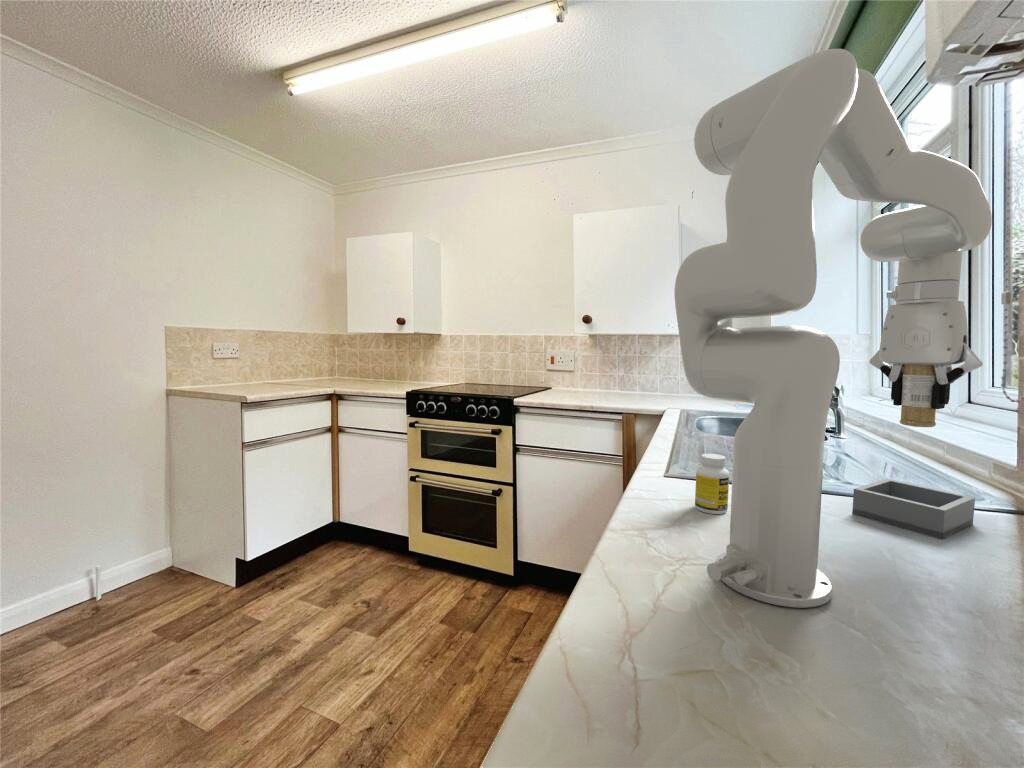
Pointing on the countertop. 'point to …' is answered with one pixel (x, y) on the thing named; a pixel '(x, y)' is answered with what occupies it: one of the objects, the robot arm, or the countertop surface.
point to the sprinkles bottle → (918, 395)
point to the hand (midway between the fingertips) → (918, 405)
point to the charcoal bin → (914, 507)
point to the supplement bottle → (712, 484)
